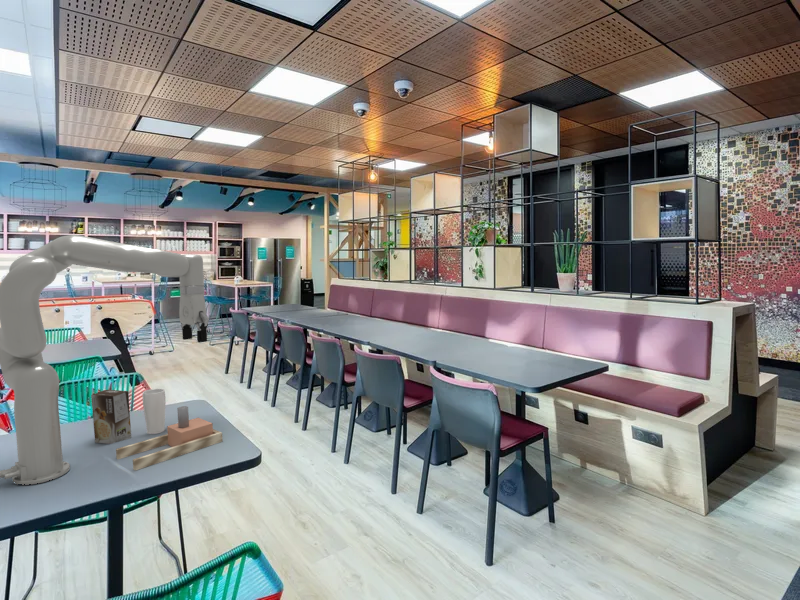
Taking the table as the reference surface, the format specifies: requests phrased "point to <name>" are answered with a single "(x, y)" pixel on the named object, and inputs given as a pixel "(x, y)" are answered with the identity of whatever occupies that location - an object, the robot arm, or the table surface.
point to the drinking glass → (154, 410)
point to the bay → (165, 453)
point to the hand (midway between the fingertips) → (194, 340)
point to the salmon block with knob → (187, 428)
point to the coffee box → (111, 416)
